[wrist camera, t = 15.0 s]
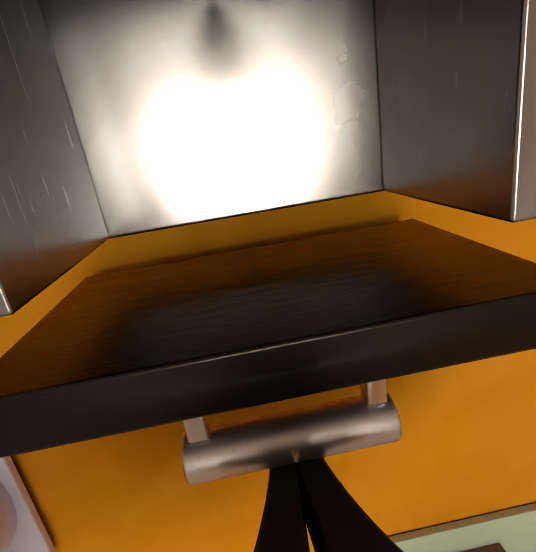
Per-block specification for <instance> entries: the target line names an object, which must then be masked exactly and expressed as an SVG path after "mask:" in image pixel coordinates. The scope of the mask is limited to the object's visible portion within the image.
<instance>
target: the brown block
mask: <svg viewBox="0 0 536 552" xmlns="http://www.w3.org/2000/svg"><path fill="white" fill-rule="evenodd" d="M462 552H506V551H505V549H504V548H503V547H502V545H501V544H500V543H496V544H492V545H487V546H483V547H479V548H475V549H471V550H466V551H462Z"/></svg>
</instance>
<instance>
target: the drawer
mask: <svg viewBox="0 0 536 552" xmlns="http://www.w3.org/2000/svg"><path fill="white" fill-rule="evenodd" d="M380 191H388V192H392V193H396V194H400V195H404V196H408V197H412V198H416V199H420V200H424V201H428V202H432V203H436V204H440V205H444V206H448V207H452V208H456V209H460V210H464V211H468V212H472V213H476V214H480V215H484V216H488V217H492V218H496V219H500V220H504V221H508V222H512V223H513V222H518V221H524V220H529V219H535V218H536V0H0V317H1V316H7V315H12V314H13V313H15V312H16V311H17V310H19V309H20V308H21V307H22V306H24V305H25V304H26V303H28V302H29V301H30V300H31V299H33V298H34V297H35V296H37V295H38V294H39V293H40V292H42V291H43V290H44V289H45V288H47V287H48V286H49V285H51V284H52V283H53V282H54V281H56V280H57V279H58V278H59V277H61V276H62V275H63V274H65V273H66V272H67V271H68V270H70V269H71V268H72V267H74V266H75V265H76V264H77V263H79V262H80V261H81V260H82V259H84V258H85V257H86V256H88V255H89V254H90V253H91V252H93V251H94V250H95V249H96V248H98V247H99V246H100V245H102V244H103V243H104V242H105V241H107V240H108V239H110V238H115V237H121V236H127V235H133V234H138V233H144V232H150V231H156V230H161V229H167V228H173V227H179V226H184V225H190V224H196V223H202V222H207V221H213V220H219V219H225V218H230V217H236V216H242V215H248V214H253V213H259V212H265V211H271V210H276V209H282V208H288V207H294V206H299V205H305V204H311V203H317V202H322V201H328V200H334V199H340V198H345V197H351V196H357V195H363V194H368V193H374V192H380ZM535 348H536V263H534V262H531V261H528V260H526V259H523V258H520V257H517V256H514V255H512V254H509V253H506V252H503V251H500V250H498V249H495V248H492V247H489V246H487V245H484V244H481V243H478V242H475V241H473V240H470V239H467V238H464V237H462V236H459V235H456V234H453V233H450V232H448V231H445V230H442V229H439V228H437V227H434V226H431V225H428V224H425V223H423V222H420V221H417V220H414V219H410V220H405V221H399V222H393V223H388V224H382V225H377V226H371V227H366V228H360V229H354V230H349V231H343V232H338V233H332V234H327V235H321V236H315V237H310V238H304V239H299V240H293V241H287V242H282V243H276V244H271V245H265V246H260V247H254V248H248V249H243V250H237V251H232V252H226V253H221V254H215V255H209V256H204V257H198V258H193V259H187V260H182V261H176V262H170V263H165V264H159V265H154V266H148V267H142V268H137V269H131V270H126V271H120V272H115V273H109V274H103V275H98V276H92V277H87V278H85V279H84V280H83V281H82V282H81V283H80V284H79V285H78V286H77V287H76V288H74V289H73V290H72V291H71V292H70V293H69V294H68V295H67V296H66V297H65V298H64V299H63V300H62V301H61V302H60V303H58V304H57V305H56V306H55V307H54V308H53V309H52V310H51V311H50V312H49V313H48V314H47V315H46V316H45V317H44V318H42V319H41V320H40V321H39V322H38V323H37V324H36V325H35V326H34V327H33V328H32V329H31V330H30V331H29V332H28V333H27V334H25V335H24V336H23V337H22V338H21V339H20V340H19V341H18V342H17V343H16V344H15V345H14V346H13V347H12V348H11V349H9V350H8V351H7V352H6V353H5V354H4V355H3V356H2V357H1V358H0V458H3V457H8V456H13V455H18V454H23V453H28V452H33V451H37V450H42V449H47V448H52V447H57V446H62V445H67V444H72V443H76V442H81V441H86V440H91V439H96V438H101V437H106V436H111V435H116V434H120V433H125V432H130V431H135V430H140V429H145V428H150V427H155V426H160V425H164V424H169V423H174V422H179V421H182V423H183V426H184V430H185V433H184V434H183V438H182V462H183V469H184V473H185V477H186V480H187V482H188V484H189V485H195V484H200V483H205V482H209V481H214V480H219V479H223V478H228V477H232V476H237V475H242V474H246V473H251V472H256V471H260V470H265V469H270V468H274V467H279V466H284V465H288V464H293V463H297V462H302V461H307V460H311V459H316V458H321V457H325V456H330V455H335V454H339V453H344V452H349V451H353V450H358V449H362V448H367V447H372V446H376V445H381V444H386V443H390V442H395V441H399V440H400V439H401V435H402V430H401V422H400V418H399V414H398V411H397V408H396V406H395V404H394V401H393V400H392V398H391V396H390V395H389V394H388V393H387V386H386V379H389V378H394V377H399V376H404V375H409V374H413V373H418V372H423V371H428V370H433V369H438V368H443V367H448V366H452V365H457V364H462V363H467V362H472V361H477V360H482V359H487V358H492V357H496V356H501V355H506V354H511V353H516V352H521V351H526V350H531V349H535ZM355 385H360V393H361V395H359V396H354V397H349V398H345V399H340V400H335V401H330V402H325V403H320V404H316V405H311V406H306V407H301V408H296V409H291V410H286V411H282V412H277V413H272V414H267V415H262V416H257V417H253V418H248V419H243V420H238V421H233V422H228V423H224V424H219V425H214V426H210V422H209V418H208V415H213V414H218V413H223V412H228V411H233V410H238V409H243V408H247V407H252V406H257V405H262V404H267V403H272V402H277V401H282V400H286V399H291V398H296V397H301V396H306V395H311V394H316V393H321V392H326V391H330V390H335V389H340V388H345V387H350V386H355Z"/></svg>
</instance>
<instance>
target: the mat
mask: <svg viewBox="0 0 536 552" xmlns="http://www.w3.org/2000/svg"><path fill="white" fill-rule="evenodd" d="M389 538H390V539H391V540H392V541H393V542H394V543H395V544H396V545H397V546H398V547H399V548H400V549H401V550H402V551H403V552H462V551H466V550H471V549H475V548H479V547H483V546H487V545H492V544H496V543H500V544H501V545H502V547H503V548H504V549H505V551H506V552H536V503H533V504H529V505H524V506H520V507H516V508H511V509H507V510H503V511H498V512H494V513H490V514H485V515H481V516H477V517H472V518H468V519H464V520H459V521H455V522H451V523H446V524H442V525H438V526H433V527H429V528H425V529H420V530H416V531H412V532H407V533H403V534H399V535H394V536H390V537H389Z"/></svg>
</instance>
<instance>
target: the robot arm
mask: <svg viewBox="0 0 536 552" xmlns="http://www.w3.org/2000/svg"><path fill="white" fill-rule="evenodd" d="M306 524H307V527H306ZM307 528H308V531H309V534H310V538H311V541H312V544H313V547H314V551H315V552H403V551H402V550H401V549H400V548H399V547H398V546H397V545H396V544H395V543H394V542H393V541H392V540H391V539H390V538H389V537H388V536H387V535H386V534H385V533H384V532H383V531H382V530H381V529H380V528H379V527H378V526H377V525H376V524H375V523H374V522H373V521H372V520H371V518H370V517H369V516H368V515H367V514H366V513H365V512H364V511H363V510H362V508H361V507H360V506H359V505H358V504H357V503H356V501H355V500H354V499H353V498H352V497H351V495H350V494H349V493H348V492H347V490H346V489H345V488H344V486H343V485H342V484H341V482H340V481H339V480H338V479H337V477H336V476H335V475H334V473H333V472H332V470H331V469H330V467H329V466H328V464H327V463H326V461H325V460H324V458H323V457H321V458H316V459H311V460H307V461H302V462H297V463H293V464H288V465H284V466H279V467H274V468H270V473H269V482H268V489H267V495H266V501H265V507H264V512H263V516H262V521H261V525H260V529H259V534H258V538H257V541H256V545H255V549H254V552H310V550H309V543H308V535H307ZM54 551H55V548H54V545H53V543H52V541H51V539H50V537H49V535H48V533H47V531H46V529H45V527H44V525H43V523H42V521H41V519H40V517H39V514H38V512H37V510H36V508H35V506H34V504H33V502H32V500H31V498H30V496H29V494H28V492H27V490H26V488H25V486H24V484H23V481H22V479H21V477H20V475H19V473H18V471H17V469H16V467H15V465H14V463H13V461H12V459H11V457H10V456H8V457H3V458H0V552H54Z"/></svg>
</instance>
